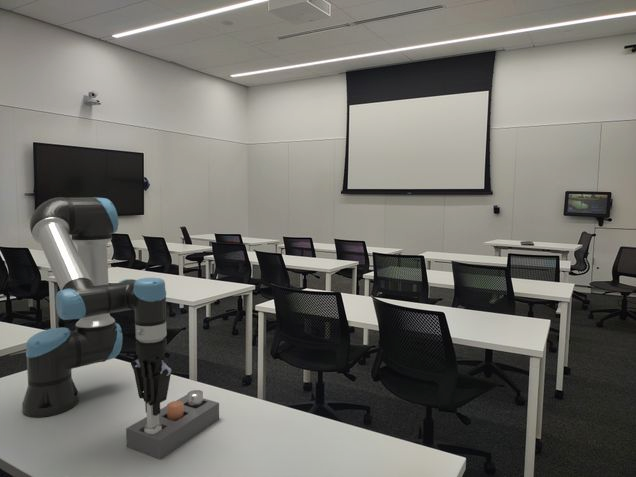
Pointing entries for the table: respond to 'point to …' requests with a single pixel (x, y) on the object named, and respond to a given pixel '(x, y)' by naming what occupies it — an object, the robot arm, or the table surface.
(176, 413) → the terracotta button
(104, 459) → the table surface
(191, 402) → the steel button far
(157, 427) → the steel button near
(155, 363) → the robot arm
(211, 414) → the button console
